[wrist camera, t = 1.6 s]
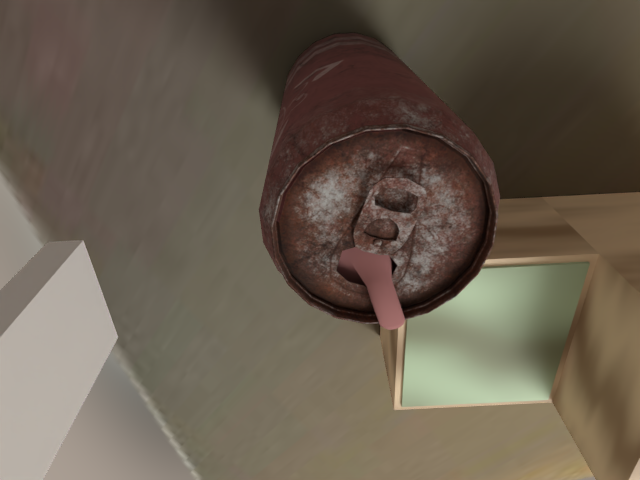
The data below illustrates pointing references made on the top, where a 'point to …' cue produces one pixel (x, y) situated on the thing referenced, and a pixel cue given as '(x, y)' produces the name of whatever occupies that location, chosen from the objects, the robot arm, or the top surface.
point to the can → (374, 187)
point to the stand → (541, 327)
